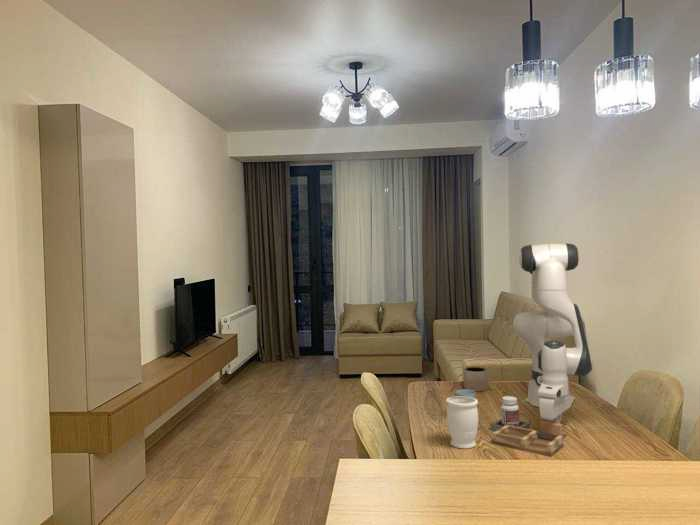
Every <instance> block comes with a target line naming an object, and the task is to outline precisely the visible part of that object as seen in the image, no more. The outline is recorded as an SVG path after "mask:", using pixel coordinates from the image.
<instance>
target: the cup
mask: <svg viewBox="0 0 700 525" xmlns="http://www.w3.org/2000/svg"><path fill="white" fill-rule="evenodd" d="M454 392H455V394H454V395H455V397H456V396H465V397H471V398H475V399H476V392H475V391H473V390H466V389H457V390H455V391H454Z"/></svg>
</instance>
